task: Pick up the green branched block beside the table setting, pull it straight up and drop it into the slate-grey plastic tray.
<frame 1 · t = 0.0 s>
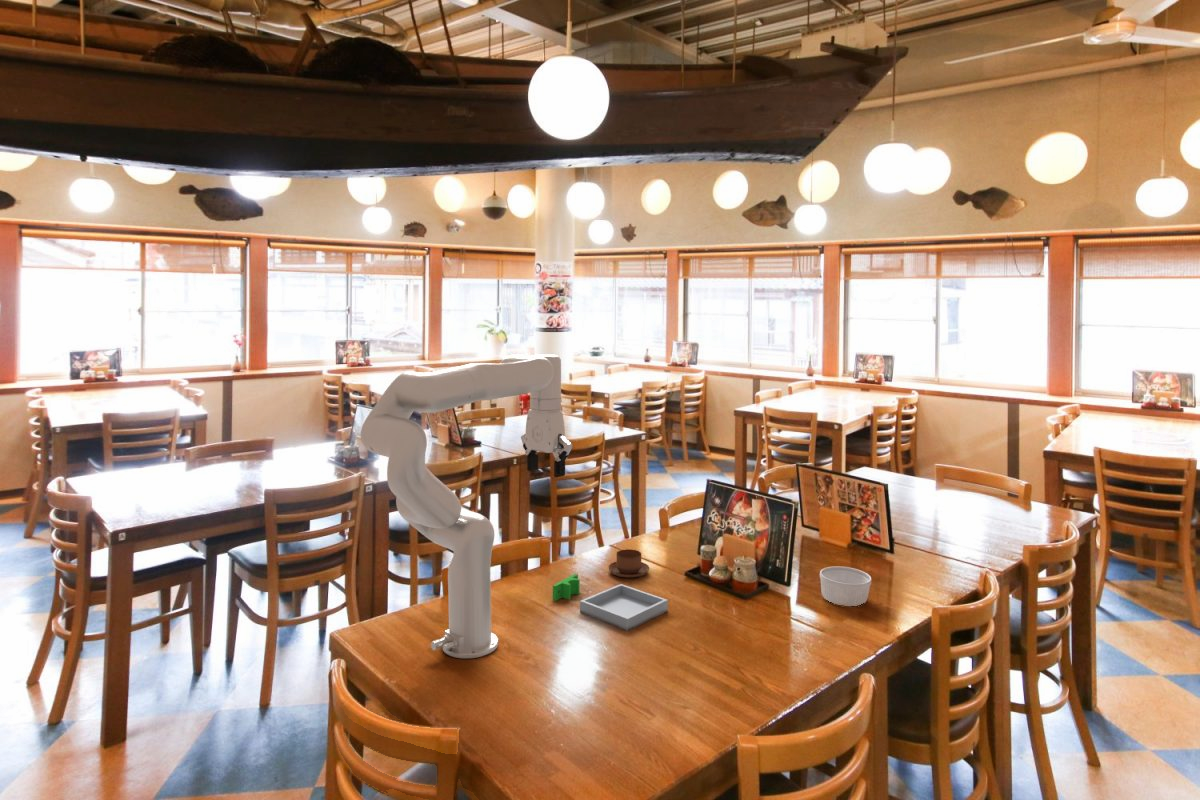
hand: (545, 473, 179), 37 cm above the table, tool pointing down, fingers open, 9 cm apart
cup and saucer: (628, 574, 213), on the table
tray: (623, 611, 186), on the table
ramekin: (844, 600, 194), on the table
green branched block: (568, 596, 196), on the table
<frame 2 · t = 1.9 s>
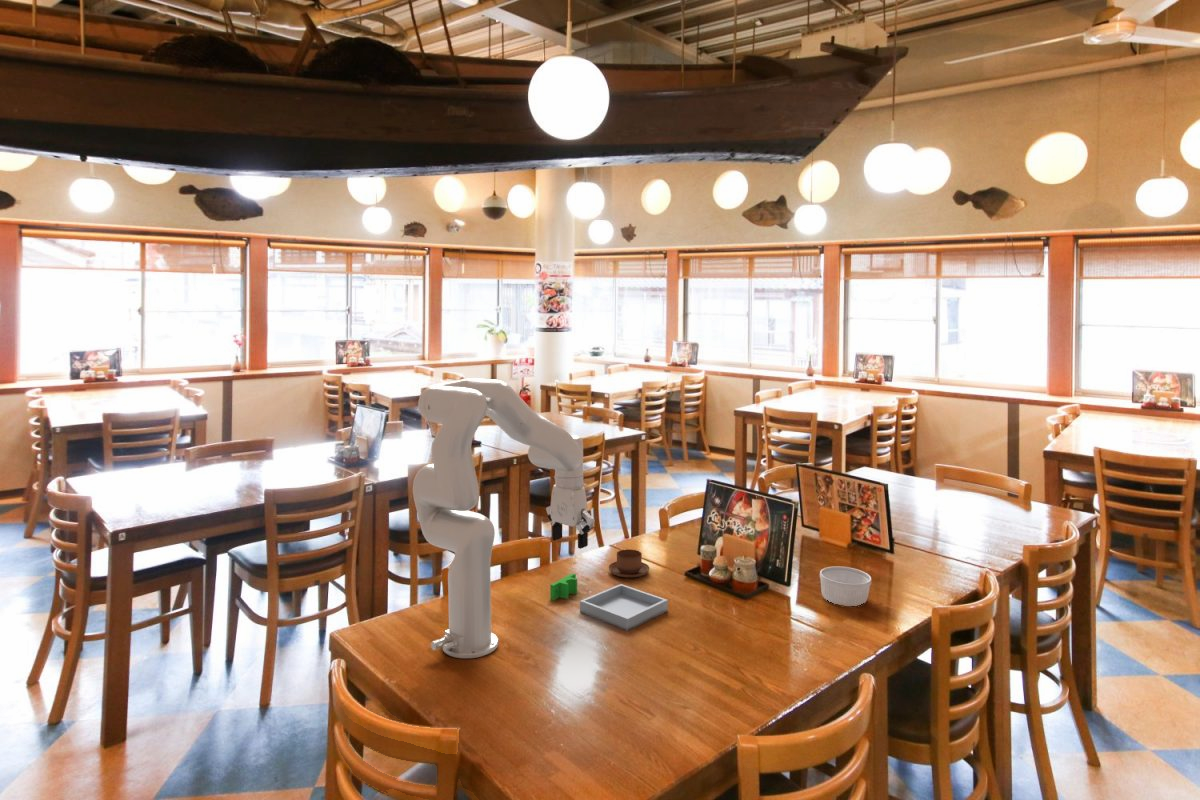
hand: (569, 543, 195), 14 cm above the table, tool pointing down, fingers open, 9 cm apart
nothing on the table moved.
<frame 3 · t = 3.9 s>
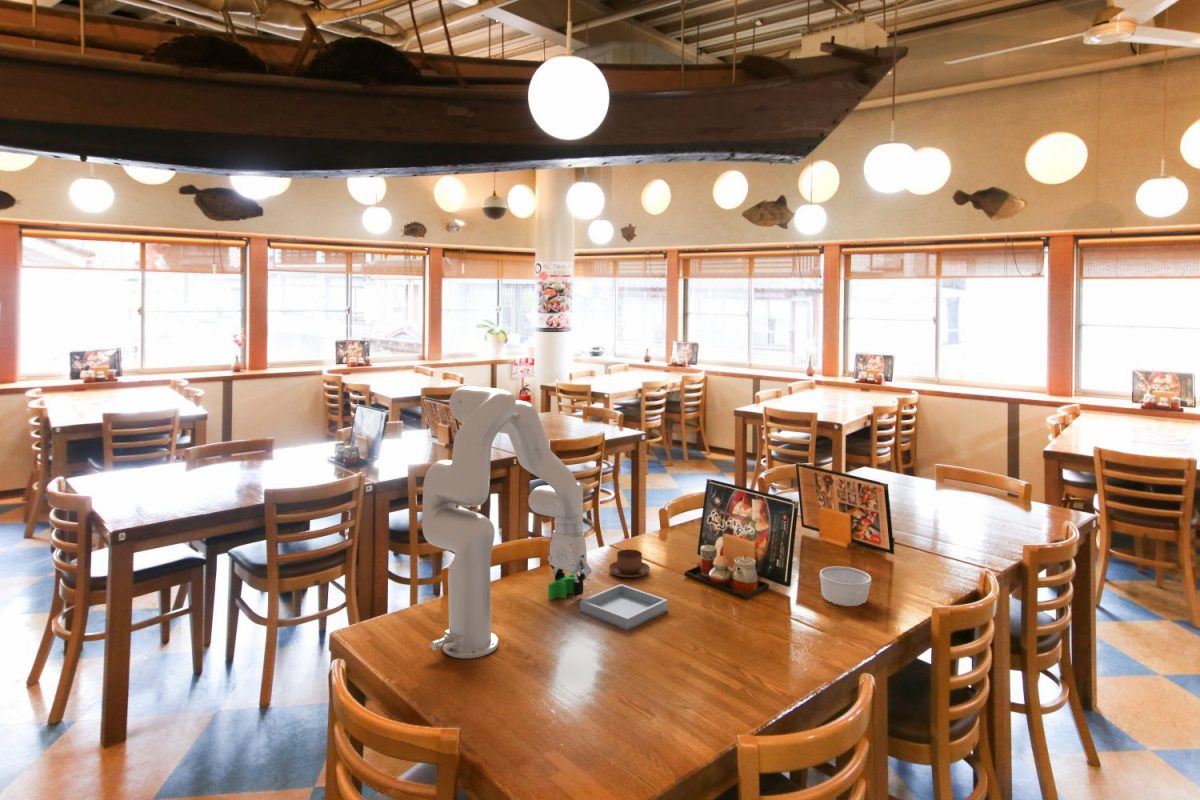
hand: (569, 590, 196), 1 cm above the table, tool pointing down, fingers open, 6 cm apart
green branched block: (564, 595, 197), on the table, touching gripper
everything else where it was.
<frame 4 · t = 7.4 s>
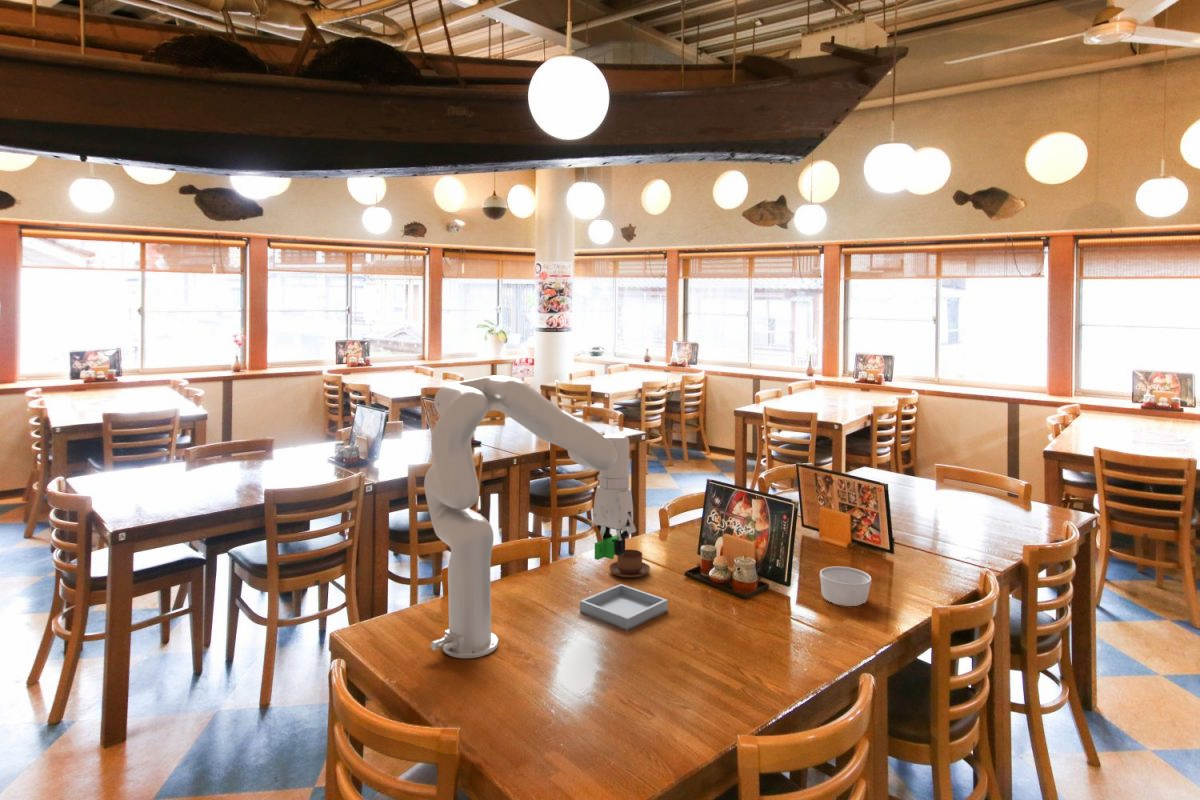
hand: (613, 551, 186), 15 cm above the table, tool pointing down, fingers closed on green branched block, 3 cm apart
green branched block: (612, 556, 186), point 14 cm above the table, touching gripper
everything else where it was.
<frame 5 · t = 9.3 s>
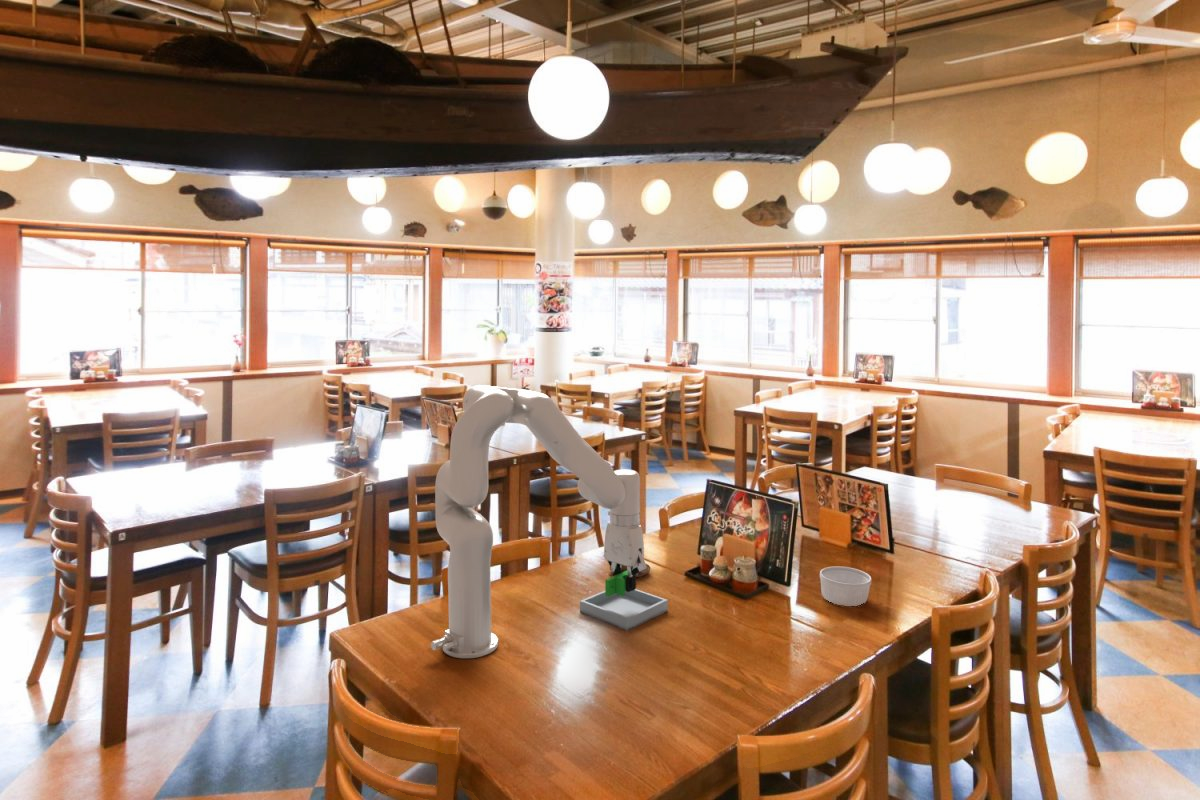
hand: (624, 587, 185), 6 cm above the table, tool pointing down, fingers closed on green branched block, 3 cm apart
green branched block: (623, 592, 185), point 5 cm above the table, touching gripper
everything else where it was.
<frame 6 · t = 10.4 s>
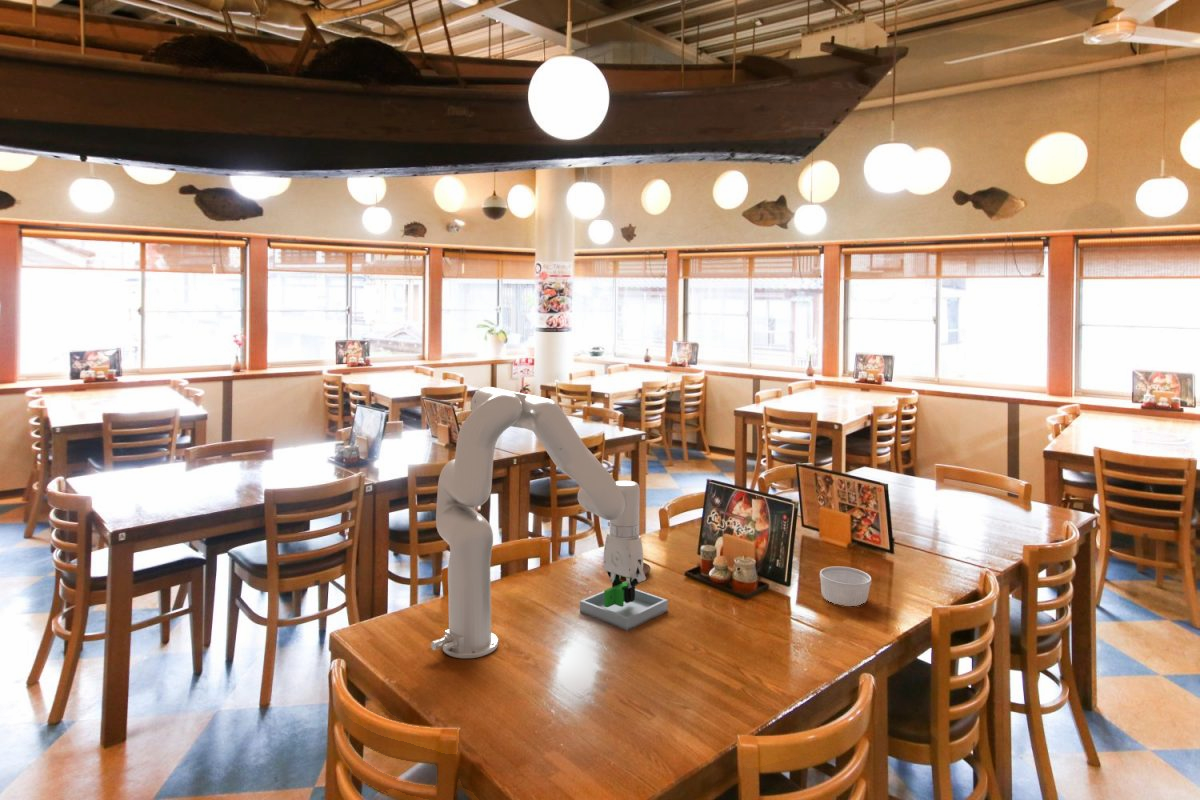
hand: (623, 598, 185), 4 cm above the table, tool pointing down, fingers closed on green branched block, 3 cm apart
green branched block: (621, 602, 185), point 2 cm above the table, touching gripper
everything else where it was.
when the fingers open (4 cm above the table, at t = 10.6 s): green branched block drops 2 cm, resting on tray.
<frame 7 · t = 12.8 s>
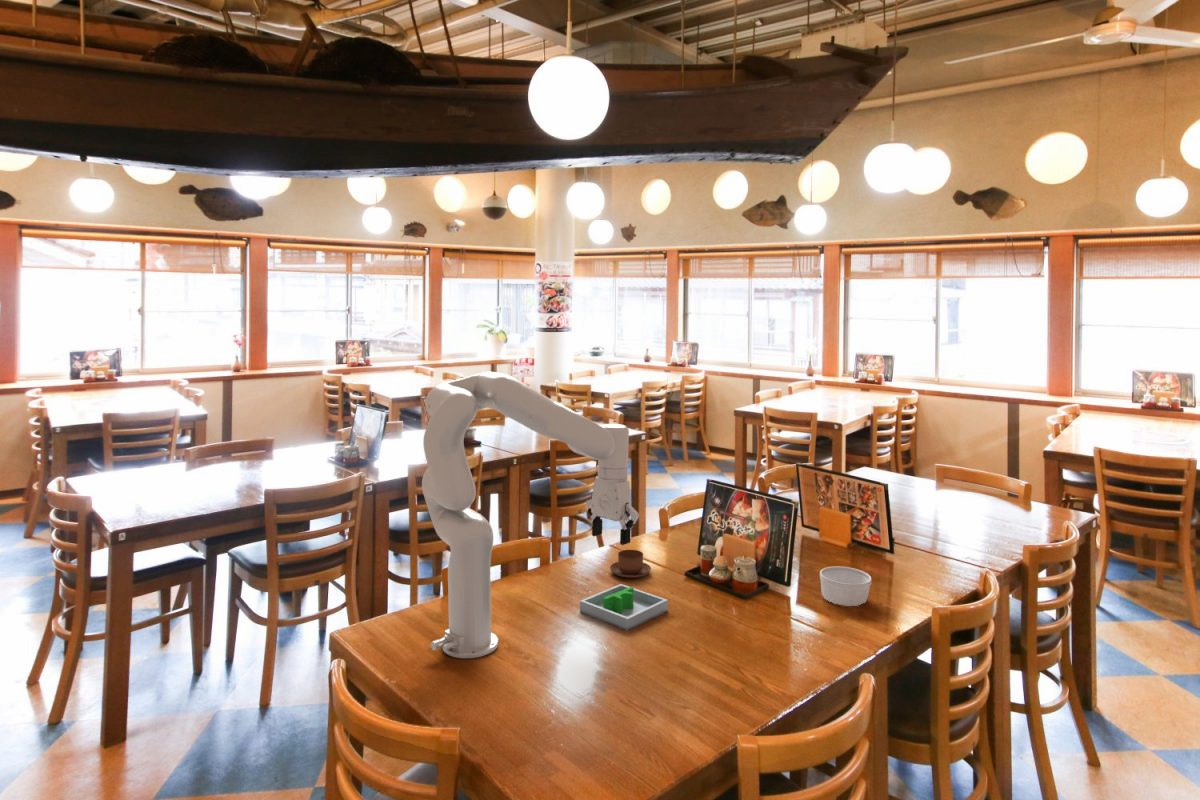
hand: (610, 539, 183), 19 cm above the table, tool pointing down, fingers open, 9 cm apart
green branched block: (621, 610, 185), resting on tray
everything else where it was.
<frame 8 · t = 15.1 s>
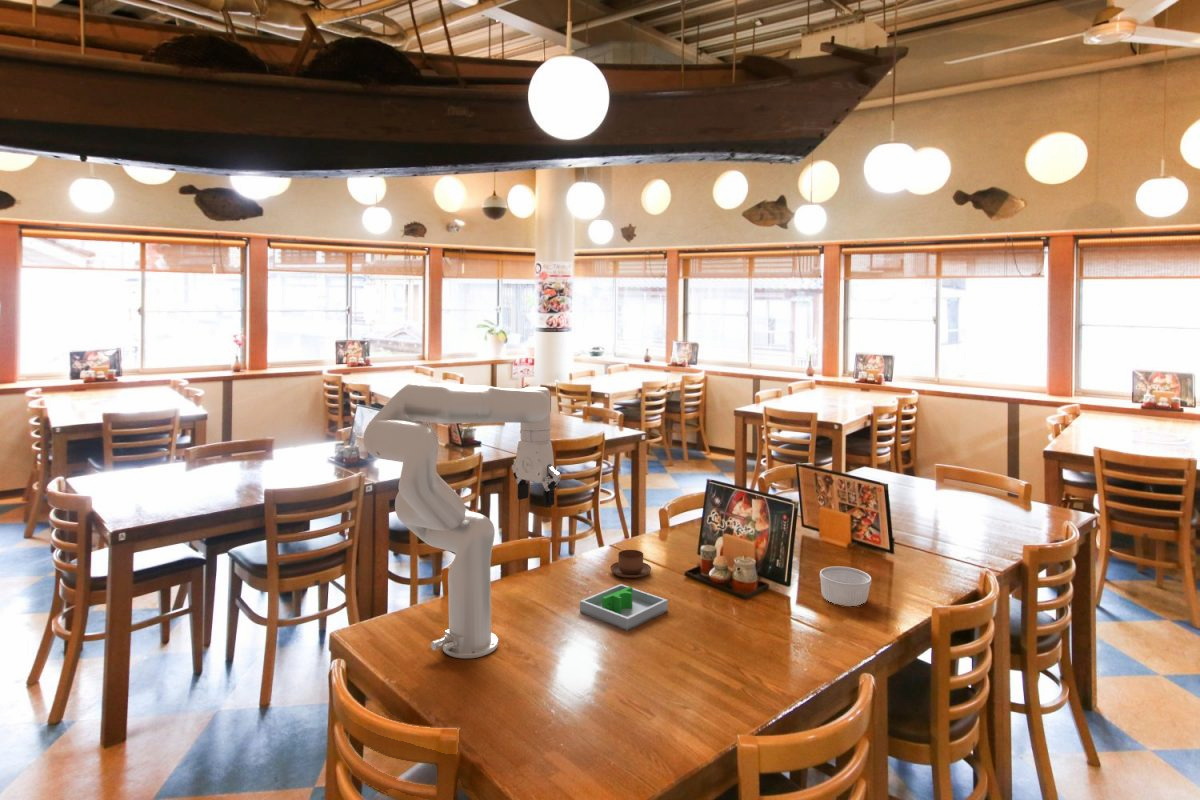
hand: (535, 501, 184), 28 cm above the table, tool pointing down, fingers open, 9 cm apart
nothing on the table moved.
at the end: green branched block inside the target area on the tray (0.9 cm from its centre), point 0.4 cm above the tray's base; the gripper is holding nothing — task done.
